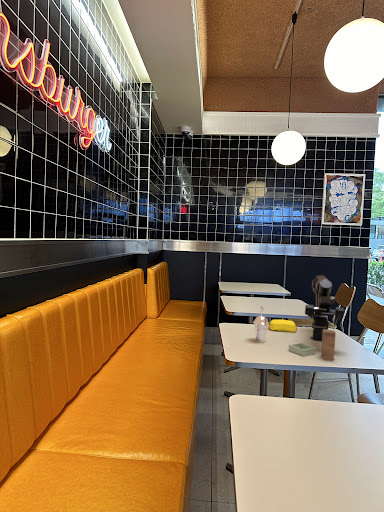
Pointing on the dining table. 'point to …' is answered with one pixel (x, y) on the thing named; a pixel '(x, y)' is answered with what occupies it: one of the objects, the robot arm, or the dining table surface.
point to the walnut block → (328, 344)
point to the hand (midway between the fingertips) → (324, 324)
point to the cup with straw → (260, 327)
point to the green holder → (302, 349)
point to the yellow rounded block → (283, 325)
